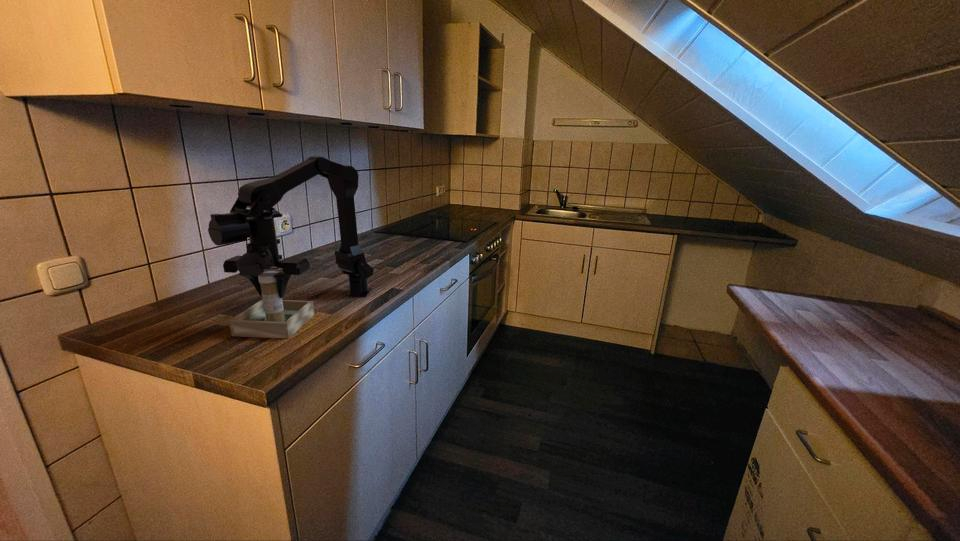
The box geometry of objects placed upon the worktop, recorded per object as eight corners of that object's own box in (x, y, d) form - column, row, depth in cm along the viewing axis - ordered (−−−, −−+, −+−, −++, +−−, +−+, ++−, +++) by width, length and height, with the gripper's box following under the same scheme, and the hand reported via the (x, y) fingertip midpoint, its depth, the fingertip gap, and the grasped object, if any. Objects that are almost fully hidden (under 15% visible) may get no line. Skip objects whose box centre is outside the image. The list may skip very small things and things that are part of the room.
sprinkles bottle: (283, 316, 101) (276, 269, 96) (287, 322, 97) (280, 274, 93) (264, 321, 98) (255, 272, 94) (268, 327, 95) (259, 277, 90)
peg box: (264, 312, 105) (262, 299, 103) (314, 314, 104) (312, 301, 103) (231, 336, 91) (229, 321, 90) (289, 338, 91) (286, 323, 90)
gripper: (200, 244, 83) (213, 308, 88) (284, 247, 83) (292, 311, 88) (233, 233, 94) (243, 291, 99) (307, 235, 93) (313, 293, 98)
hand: (272, 297), depth 95 cm, fingers closed on sprinkles bottle, 4 cm apart
